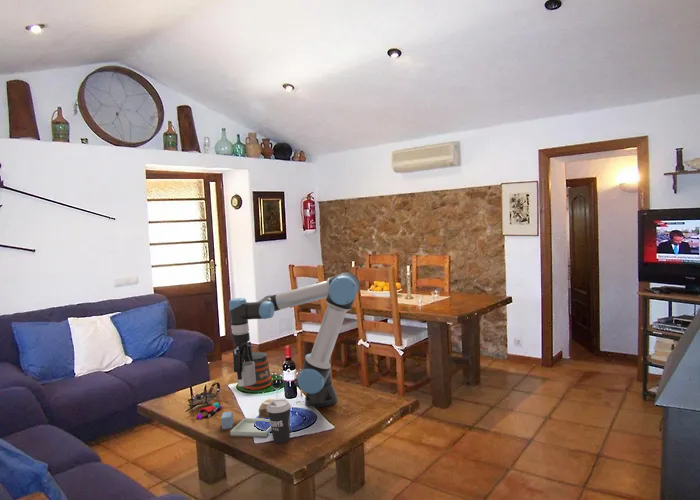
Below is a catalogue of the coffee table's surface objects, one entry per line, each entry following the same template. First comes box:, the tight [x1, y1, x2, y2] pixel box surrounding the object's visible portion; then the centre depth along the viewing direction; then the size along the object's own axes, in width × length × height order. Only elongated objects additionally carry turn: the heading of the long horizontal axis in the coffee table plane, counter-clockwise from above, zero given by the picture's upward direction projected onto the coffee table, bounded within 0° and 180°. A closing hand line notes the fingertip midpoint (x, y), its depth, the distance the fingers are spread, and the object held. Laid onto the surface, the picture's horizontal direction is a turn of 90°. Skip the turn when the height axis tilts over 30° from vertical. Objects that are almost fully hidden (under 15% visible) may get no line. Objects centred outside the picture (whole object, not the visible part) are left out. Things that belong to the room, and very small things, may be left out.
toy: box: [196, 402, 225, 421], centre depth 231 cm, size 8×4×15 cm
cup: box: [242, 362, 256, 386], centre depth 224 cm, size 7×10×9 cm
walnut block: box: [258, 404, 269, 418], centre depth 221 cm, size 5×5×5 cm
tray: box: [229, 417, 271, 438], centre depth 209 cm, size 16×13×2 cm
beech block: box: [260, 397, 278, 405], centre depth 230 cm, size 6×4×4 cm, turn 150°
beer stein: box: [240, 351, 273, 391], centre depth 264 cm, size 19×15×20 cm
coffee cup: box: [267, 398, 292, 444], centre depth 197 cm, size 10×10×15 cm
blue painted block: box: [220, 411, 234, 430], centre depth 215 cm, size 4×6×5 cm, turn 7°
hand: (245, 382), depth 224 cm, fingers closed on cup, 7 cm apart
